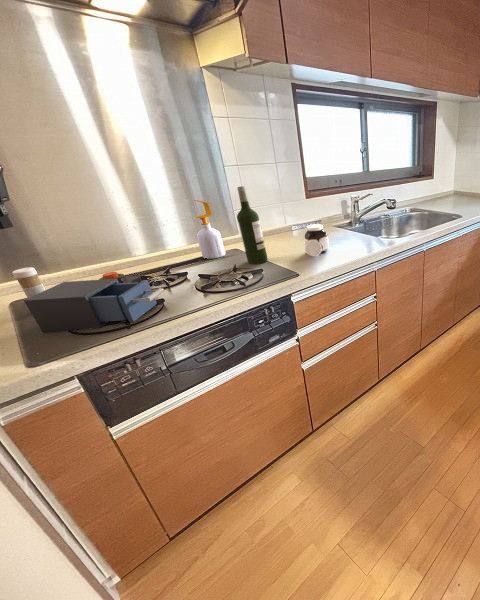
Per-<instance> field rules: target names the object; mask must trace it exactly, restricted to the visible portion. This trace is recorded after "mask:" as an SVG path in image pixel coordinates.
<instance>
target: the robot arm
mask: <svg viewBox="0 0 480 600" xmlns="http://www.w3.org/2000/svg"><path fill="white" fill-rule="evenodd" d="M9 201H11V199H10V195H9V192H8V187H7V185H6V180H5V177H4V166H3V165H2V164H0V230H6V229H10V228H14V224H13V222H12V220H11V219H10V217H9V214H10V213H9V211H8V209H7V208H6V206H5V203H6V202H9Z"/></svg>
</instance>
